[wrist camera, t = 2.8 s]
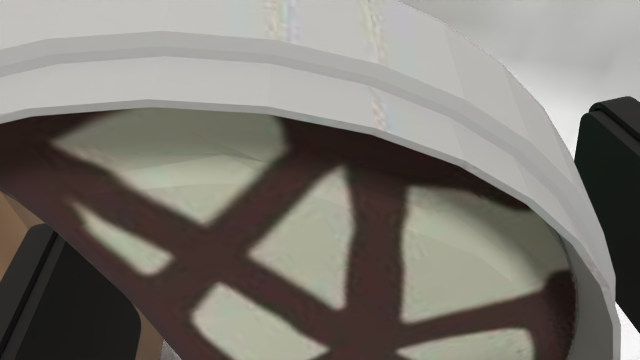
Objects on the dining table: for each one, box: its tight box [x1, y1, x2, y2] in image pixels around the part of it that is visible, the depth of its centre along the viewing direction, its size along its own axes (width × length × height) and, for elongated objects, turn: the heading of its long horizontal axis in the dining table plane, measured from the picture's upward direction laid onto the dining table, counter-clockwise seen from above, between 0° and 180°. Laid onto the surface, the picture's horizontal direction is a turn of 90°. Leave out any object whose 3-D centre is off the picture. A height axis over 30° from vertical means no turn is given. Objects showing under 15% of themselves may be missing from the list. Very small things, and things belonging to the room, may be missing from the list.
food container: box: [0, 0, 621, 360], centre depth 10 cm, size 12×6×10 cm, turn 25°
